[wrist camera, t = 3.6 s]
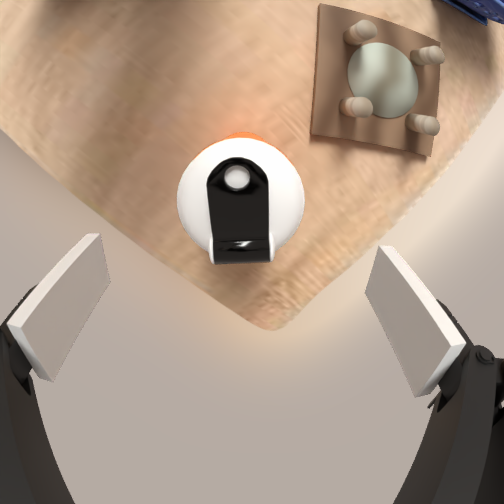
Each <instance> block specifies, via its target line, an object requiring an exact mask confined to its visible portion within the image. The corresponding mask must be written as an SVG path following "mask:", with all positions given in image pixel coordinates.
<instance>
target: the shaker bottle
mask: <svg viewBox="0 0 504 504" xmlns="http://www.w3.org/2000/svg"><path fill="white" fill-rule="evenodd" d="M304 205H305V198H304V189H303V185H302V182H301V179H300V177H299V175H298V173H297V171H296V169H295V168H294V166H293V164H292V163H291V162H290V160H289V159H288V158H287V157H286V156H285V155H284V153H282V152H281V151H280V150H278V149H277V148H276V147H274V146H273V145H271V144H269V143H267V142H266V141H264V140H263V139H262V138H261V137H259V136H257V135H255V134H253V133H249V132H239V133H235V134H232V135H230V136H229V137H227V138H225V139H223V140H221V141H218V142H215V143H213V144H211V145H210V146H208V147H207V148H205V149H203V150H202V151H201V152H200V153H199V154H198V155H197V156H196V157H195V158H194V159H193V161H192V162H191V163H190V164H189V166H188V167H187V169H186V170H185V172H184V173H183V175H182V178H181V180H180V183H179V186H178V192H177V209H178V213H179V217H180V220H181V223H182V225H183V227H184V229H185V231H186V232H187V233H188V235H189V236H190V237H191V239H192V240H193V241H194V242H195V243H197V244H198V245H199V246H200V247H201V248H203V249H204V250H206V251H207V252H209V257H210V260H211V262H212V264H242V263H267V262H272V261H273V259H274V255H275V251H277V250H278V249H279V248H280V247H282V246H283V245H284V244H286V243H287V242H288V240H289V239H290V238H291V237H292V236H293V235H294V233H295V231H296V230H297V228H298V226H299V225H300V222H301V219H302V216H303V212H304Z"/></svg>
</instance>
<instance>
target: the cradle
mask: <svg viewBox="0 0 504 504" xmlns="http://www.w3.org/2000/svg"><path fill="white" fill-rule="evenodd" d="M444 60H445V56H444V53H443V51H442V50H441V49H440V42H438V41H436V40H434V39H431V38H429V37H427V36H425V35H422V34H420V33H418V32H415V31H413V30H410V29H408V28H405V27H403V26H400V25H397V24H394V23H392V22H389V21H386V20H383V19H380V18H377V17H373V16H370V15H367V14H363V13H360V12H356V11H352V10H348V9H344V8H340V7H335V6H331V5H326V4H319V6H318V22H317V44H316V62H315V77H314V91H313V103H312V115H311V126H310V134H313V135H321V136H329V137H336V138H342V139H349V140H355V141H361V142H366V143H372V144H377V145H382V146H387V147H392V148H396V149H401V150H405V151H409V152H414V153H418V154H422V155H425V156H429V157H431V152H432V146H433V140H434V136H435V135H437V134H438V132H439V130H440V124H439V122H438V120H437V119H436V117H437V107H438V96H439V80H440V64H441V63H443V62H444Z"/></svg>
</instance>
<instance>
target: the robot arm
mask: <svg viewBox="0 0 504 504" xmlns="http://www.w3.org/2000/svg"><path fill="white" fill-rule="evenodd" d="M109 284H110V278H109V274H108V269H107V265H106V260H105V255H104V251H103V245H102V240H101V235H100V233H99V234H98V233H87V234H86V235H85V236H84V237H83V238H82V239H81V240H80V241H79V242H78V243H77V244H76V245H75V246H74V247H73V248H72V249H71V250H70V251H69V252H68V253H67V254H66V255H65V256H64V257H63V258H62V259H61V260H60V261H59V262H58V263H57V264H56V265H55V266H54V268H53V269H52V270H51V271H50V272H49V273H48V274H47V275H46V276H45V278H44V279H43V280H42V281H41V282H40V283H39V284H37V285H36V286H34V287H33V288H32V289H30V290H29V291H28V292H27V293H26V295H25V296H24V297H23V299H22V300H21V301H20V302H19V303H18V305H17V306H16V307H15V308H14V309H13V310H12V312H11V313H10V314H9V315H8V317H7V318H6V319H5V321H4V322H3V323H2V325H1V326H0V504H75V503H74V501H73V499H72V497H71V495H70V493H69V491H68V489H67V486H66V484H65V482H64V480H63V478H62V475H61V473H60V471H59V468H58V465H57V463H56V460H55V458H54V455H53V452H52V449H51V447H50V444H49V441H48V438H47V435H46V432H45V428H44V425H43V421H42V418H41V414H40V411H39V407H38V403H37V399H36V394H35V390H34V385H33V380H32V378H31V376H30V374H29V372H30V370H31V369H32V368H33V369H34V371H35V373H36V374H37V376H38V377H39V378H42V379H44V380H47V381H51V382H54V380H55V377H56V375H57V374H58V372H59V370H60V368H61V366H62V364H63V362H64V360H65V358H66V356H67V354H68V353H69V351H70V349H71V347H72V345H73V343H74V342H75V340H76V338H77V336H78V335H79V333H80V331H81V329H82V328H83V326H84V324H85V322H86V321H87V319H88V317H89V316H90V314H91V312H92V311H93V309H94V307H95V306H96V304H97V303H98V301H99V299H100V298H101V296H102V295H103V293H104V291H105V290H106V288H107V287H108V285H109ZM365 294H366V296H367V298H368V300H369V302H370V304H371V305H372V307H373V309H374V311H375V313H376V315H377V317H378V319H379V321H380V323H381V325H382V327H383V329H384V331H385V333H386V335H387V337H388V339H389V341H390V343H391V345H392V348H393V350H394V352H395V354H396V356H397V358H398V360H399V362H400V365H401V367H402V369H403V371H404V374H405V376H406V378H407V380H408V383H409V385H410V387H411V390H412V392H413V394H414V397H419V396H423V395H428V394H430V393H431V392H432V391H433V390H434V388H435V387H436V386H437V384H438V385H439V387H440V389H441V391H440V392H439V393H438V394H437V396H436V397H435V398H434V399H433V400H432V401H431V403H430V404H429V405H428V408H430V407H431V406H432V405H433V404H434V408H433V411H432V414H431V417H430V420H429V423H428V426H427V429H426V431H425V434H424V437H423V440H422V442H421V445H420V448H419V450H418V452H417V455H416V457H415V460H414V462H413V464H412V466H411V469H410V471H409V473H408V475H407V477H406V479H405V482H404V484H403V486H402V488H401V490H400V492H399V493H398V495H397V497H396V499H395V501H394V503H393V504H504V407H503V408H502V405H501V402H502V401H503V400H504V359H500V358H495V357H494V355H493V354H492V352H491V351H490V350H489V349H487V348H485V347H484V346H480V345H476V346H474V345H473V343H472V342H471V340H470V339H469V337H468V336H467V334H466V333H465V332H464V330H463V329H462V327H461V326H460V325H459V323H457V320H456V319H455V318H454V316H452V314H451V312H450V311H449V310H448V308H447V307H446V306H445V305H444V304H443V303H441V302H440V301H439V300H437V299H435V298H434V297H433V295H432V294H431V293H430V292H429V290H428V289H427V288H426V286H425V285H424V284H423V283H422V281H421V280H420V279H419V278H418V276H417V275H416V274H415V273H414V272H413V270H412V269H411V268H410V267H409V266H408V264H407V263H406V262H405V261H404V260H403V259H402V257H401V256H400V255H399V254H398V252H396V250H395V249H394V248H393V247H392V246H380V245H379V246H378V250H377V254H376V257H375V261H374V264H373V268H372V271H371V274H370V278H369V281H368V284H367V287H366V290H365Z"/></svg>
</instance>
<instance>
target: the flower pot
mask: <svg viewBox="0 0 504 504" xmlns="http://www.w3.org/2000/svg"><path fill="white" fill-rule="evenodd" d="M442 1H444V2H446V3H448V4H450V5H451V6H453V7H455V8H457V9H458V10H460V11H462V12H464V13H465V14H467V15H468V16H470V17H472V18H473V19H475V20H476V21H478V22H479V23H481V24H483V25H486V26H487V18H488V19H490V20H492V21H495V22H498V23H501V24H504V0H442Z"/></svg>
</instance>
